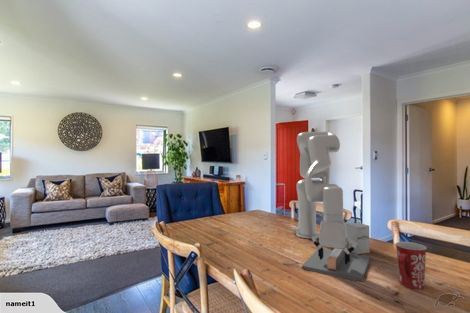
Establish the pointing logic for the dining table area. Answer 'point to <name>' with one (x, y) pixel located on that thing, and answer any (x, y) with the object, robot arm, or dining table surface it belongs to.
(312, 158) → the robot arm
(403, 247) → the mug
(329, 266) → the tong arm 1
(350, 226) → the supplement box
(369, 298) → the dining table surface
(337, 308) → the dining table surface
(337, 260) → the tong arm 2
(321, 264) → the mat
